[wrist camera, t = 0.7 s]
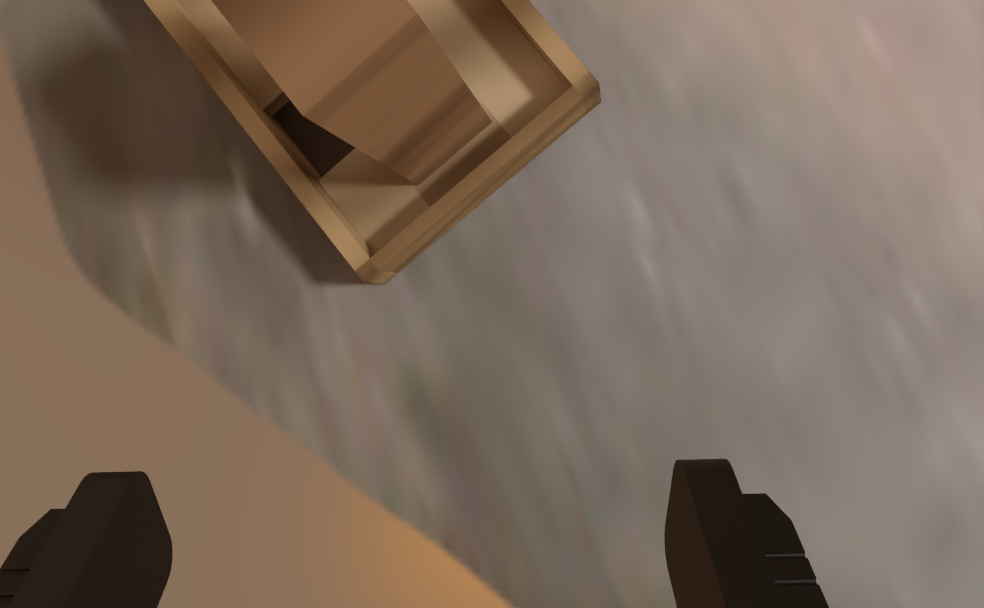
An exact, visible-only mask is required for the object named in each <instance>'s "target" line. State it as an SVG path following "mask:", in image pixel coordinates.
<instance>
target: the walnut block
mask: <svg viewBox="0 0 984 608" xmlns="http://www.w3.org/2000/svg"><path fill="white" fill-rule="evenodd" d="M211 1H212V2H213V3H214V5H215V6H216V7H217V8H218V10H219V11H220V12H221V13H222V15H223V16H224V17H225V18H226V20H227V21H228V22H229V23H230V25H231V26H232V27H233V28H234V30H235V31H236V32H237V34H238V35H239V36H240V37H241V39H242V40H243V41H244V42H245V44H246V45H247V46H248V47H249V49H250V50H251V51H252V52H253V54H254V55H255V56H256V58H257V59H258V60H259V61H260V63H261V64H262V65H263V66H264V68H265V69H266V70H267V71H268V73H269V74H270V75H271V76H272V78H273V79H274V80H275V82H276V83H277V84H278V85H279V87H280V88H281V89H282V90H283V92H284V93H285V94H286V95H287V97H288V98H289V99H290V100H291V102H292V103H293V104H294V106H295V107H296V108H297V109H298V111H299V112H300V113H301V114H302V116H304V117H306V118H307V119H309V120H311V121H312V122H314V123H316V124H317V125H319V126H320V127H322V128H324V129H325V130H327V131H329V132H330V133H332V134H334V135H335V136H337V137H339V138H340V139H342V140H344V141H345V142H347V143H349V144H350V145H352V146H354V147H355V148H357V149H359V150H360V151H362V152H364V153H365V154H367V155H369V156H370V157H372V158H374V159H375V160H377V161H379V162H380V163H382V164H384V165H385V166H387V167H389V168H390V169H392V170H394V171H395V172H397V173H398V174H400V175H402V176H403V177H405V178H407V179H408V180H410V181H412V182H413V183H415V184H417V185H418V186H419V185H420V184H421V183H422V182H423V181H424V180H426V179H427V178H428V177H429V176H430V175H431V174H433V173H434V172H435V171H436V170H437V169H438V168H440V167H441V166H442V165H443V164H444V163H445V162H447V161H448V160H449V159H450V158H451V157H452V156H454V155H455V154H456V153H457V152H458V151H459V150H461V149H462V148H463V147H464V146H465V145H466V144H468V143H469V142H470V141H471V140H472V139H473V138H475V137H476V136H477V135H478V134H479V133H480V132H482V131H483V130H484V129H485V128H486V127H487V126H489V125H490V124H491V123H492V121H491V119H490V118H489V116H488V115H487V114H486V112H485V111H484V109H483V108H482V106H481V105H480V103H479V102H478V100H477V99H476V98H475V96H474V95H473V93H472V92H471V90H470V89H469V87H468V86H467V84H466V83H465V82H464V80H463V79H462V77H461V76H460V74H459V73H458V71H457V70H456V68H455V67H454V66H453V64H452V63H451V61H450V60H449V58H448V57H447V55H446V54H445V52H444V51H443V50H442V48H441V47H440V45H439V44H438V42H437V41H436V39H435V38H434V36H433V35H432V34H431V32H430V31H429V29H428V28H427V26H426V25H425V23H424V22H423V20H422V19H421V18H420V16H419V15H418V13H417V12H416V11H415V10H414V8H413V7H412V6H411V5H410V4H409V2H408V1H407V0H211Z"/></svg>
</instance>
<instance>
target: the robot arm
mask: <svg viewBox="0 0 984 608" xmlns="http://www.w3.org/2000/svg"><path fill="white" fill-rule="evenodd" d="M665 553H666V561H667V567H668V572H669V576H670V580H671V584H672V588H673V592H674V597H675V601H676V605H677V608H829V607H828V604H827V602H826V600H825V598H824V595H823V593H822V591H821V588H820V586H819V585H817V583H816V577H815V574H814V572H813V570H812V567H811V565H810V563H809V560H808V558H805V551H804V549H803V546H802V544H801V542H800V539H799V537H798V535H797V532H796V530H795V528H794V525H793V523H792V521H791V520H790V518H789V517H788V516H787V515H786V514H785V513H784V512H783V511H782V510H781V509H780V508H779V507H778V506H777V505H776V504H775V503H774V502H773V501H772V500H771V499H770V498H769V496H768V495H767V494H742V492H741V490H740V487H739V484H738V482H737V479H736V476H735V474H734V471H733V468H732V466H731V464H730V462H729V461H728V460H727V459H698V460H677V461H676V462H675V465H674V469H673V476H672V483H671V489H670V496H669V503H668V510H667V517H666V524H665ZM171 565H172V542H171V537H170V534H169V532H168V529H167V526H166V523H165V521H164V518H163V515H162V512H161V510H160V507H159V505H158V502H157V499H156V496H155V493H154V491H153V488H152V486H151V483H150V480H149V478H148V476H147V475H146V474H145V473H144V472H141V471H138V472H101V473H99V472H98V473H90V474H88V475H87V476H85V478H84V479H83V480H82V481H81V483H80V484H79V486H78V488H77V490H76V491H75V493H74V495H73V496H72V498H71V500H70V502H69V503H68V505H67V507H66V509H51V510H49V511H48V512H47V513H46V514H45V515H44V516H43V517H42V518H41V519H39V520H38V521H37V522H36V523H35V524H34V525H33V526H32V527H31V528H30V529H28V530H27V531H26V532H25V533H24V534H23V535H22V536H21V537H20V538H19V539H18V541H17V542H16V544H15V546H14V547H13V549H12V550H11V552H10V554H9V555H8V557H7V558H6V560H5V562H4V563H3V565H2V567H1V568H0V608H157V606H158V604H159V601H160V599H161V596H162V593H163V591H164V588H165V586H166V584H167V581H168V578H169V575H170V570H171Z"/></svg>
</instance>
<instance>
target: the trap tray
mask: <svg viewBox="0 0 984 608" xmlns="http://www.w3.org/2000/svg"><path fill="white" fill-rule="evenodd" d="M144 1H145V3H146V4H147V5H148V7H149V8H150V9H151V10H152V12H153V13H154V14H155V15H156V17H157V18H158V19H159V21H160V22H161V23H162V24H163V26H164V27H165V28H166V30H167V31H168V32H169V33H170V35H171V36H172V37H173V39H174V40H175V41H176V42H177V44H178V45H179V46H180V48H181V49H182V50H183V51H184V53H185V54H186V55H187V57H188V58H189V59H190V60H191V62H192V63H193V64H194V66H195V67H196V68H197V69H198V71H199V72H200V73H201V74H202V76H203V77H204V78H205V80H206V81H207V82H208V83H209V85H210V86H211V87H212V89H213V90H214V91H215V92H216V94H217V95H218V96H219V98H220V99H221V100H222V101H223V103H224V104H225V105H226V107H227V108H228V109H229V110H230V112H231V113H232V114H233V116H234V117H235V118H236V119H237V121H238V122H239V123H240V125H241V126H242V127H243V128H244V130H245V131H246V132H247V133H248V135H249V136H250V137H251V139H252V140H253V141H254V142H255V144H256V145H257V146H258V148H259V149H260V150H261V151H262V153H263V154H264V155H265V157H266V158H267V159H268V160H269V162H270V163H271V164H272V166H273V167H274V168H275V169H276V171H277V172H278V173H279V175H280V176H281V177H282V178H283V180H284V181H285V182H286V183H287V185H288V186H289V187H290V189H291V190H292V191H293V192H294V194H295V195H296V196H297V198H298V199H299V200H300V201H301V203H302V204H303V205H304V207H305V208H306V209H307V210H308V212H309V213H310V214H311V216H312V217H313V218H314V219H315V221H316V222H317V223H318V225H319V226H320V227H321V228H322V230H323V231H324V232H325V234H326V235H327V236H328V237H329V239H330V240H331V241H332V242H333V244H334V245H335V246H336V248H337V249H338V250H339V251H340V253H341V254H342V255H343V257H344V258H345V259H346V260H347V262H348V263H349V264H350V266H351V267H352V268H353V269H354V271H355V272H356V273H357V275H358V276H359V277H360V278H361V280H362V281H363V282H364V283H372V284H383V285H384V284H385V283H386V282H388V281H389V280H390V279H391V278H392V277H394V276H395V275H396V274H397V273H398V272H399V271H401V270H402V269H403V268H404V267H405V266H407V265H408V264H409V263H410V262H411V261H413V260H414V259H415V258H416V257H417V256H418V255H420V254H421V253H422V252H423V251H424V250H426V249H427V248H428V247H429V246H430V245H432V244H433V243H434V242H435V241H436V240H437V239H439V238H440V237H441V236H442V235H443V234H445V233H446V232H447V231H448V230H449V229H450V228H452V227H453V226H454V225H455V224H456V223H458V222H459V221H460V220H461V219H462V218H464V217H465V216H466V215H467V214H468V213H469V212H471V211H472V210H473V209H474V208H475V207H477V206H478V205H479V204H480V203H481V202H483V201H484V200H485V199H486V198H487V197H488V196H490V195H491V194H492V193H493V192H494V191H496V190H497V189H498V188H499V187H500V186H502V185H503V184H504V183H505V182H506V181H507V180H509V179H510V178H511V177H512V176H513V175H515V174H516V173H517V172H518V171H519V170H520V169H522V168H523V167H524V166H525V165H526V164H528V163H529V162H530V161H531V160H532V159H534V158H535V157H536V156H537V155H538V154H539V153H541V152H542V151H543V150H544V149H545V148H547V147H548V146H549V145H550V144H551V143H553V142H554V141H555V140H556V139H557V138H558V137H560V136H561V135H562V134H563V133H564V132H566V131H567V130H568V129H569V128H570V127H571V126H573V125H574V124H575V123H576V122H577V121H579V120H580V119H581V118H582V117H583V116H585V115H586V114H587V113H588V112H589V111H590V110H592V109H593V108H594V107H595V106H596V105H598V104H599V103H600V102H601V98H600V87H599V82H598V81H597V80H596V79H595V78H594V77H593V75H592V74H591V73H590V72H589V71H588V70H587V68H586V67H585V66H584V65H583V64H582V62H581V61H580V60H579V59H578V58H577V57H576V55H575V54H574V53H573V52H572V51H571V50H570V48H569V47H568V46H567V45H566V44H565V42H564V41H563V40H562V39H561V38H560V37H559V35H558V34H557V33H556V32H555V31H554V30H553V28H552V27H551V26H550V25H549V24H548V22H547V21H546V20H545V19H544V18H543V17H542V15H541V14H540V13H539V12H538V11H537V9H536V8H535V7H534V6H533V5H532V4H531V2H530V1H529V0H407V1H408V2H409V4H410V5H411V6H412V7H413V8H414V10H415V11H416V12H417V13H418V15H419V16H420V18H421V19H422V20H423V22H424V23H425V25H426V26H427V28H428V29H429V31H430V32H431V34H432V35H433V36H434V38H435V39H436V41H437V42H438V44H439V45H440V47H441V48H442V50H443V51H444V52H445V54H446V55H447V57H448V58H449V60H450V61H451V63H452V64H453V66H454V67H455V68H456V70H457V71H458V73H459V74H460V76H461V77H462V79H463V80H464V82H465V83H466V84H467V86H468V87H469V89H470V90H471V92H472V93H473V95H474V96H475V98H476V99H477V100H478V102H479V103H480V105H481V106H482V108H483V109H484V111H485V112H486V114H487V115H488V116H489V118H490V119H491V121H492V123H491V124H490V125H489V126H487V127H486V128H485V129H484V130H483V131H482V132H480V133H479V134H478V135H477V136H476V137H475V138H473V139H472V140H471V141H470V142H469V143H468V144H466V145H465V146H464V147H463V148H462V149H461V150H459V151H458V152H457V153H456V154H455V155H454V156H452V157H451V158H450V159H449V160H448V161H447V162H445V163H444V164H443V165H442V166H441V167H440V168H438V169H437V170H436V171H435V172H434V173H433V174H431V175H430V176H429V177H428V178H427V179H426V180H424V181H423V182H422V183H421V184H420V185H419V186H418V185H417V184H415V183H413V182H412V181H410V180H408V179H407V178H405V177H403V176H402V175H400V174H398V173H397V172H395V171H394V170H392V169H390V168H389V167H387V166H385V165H384V164H382V163H380V162H379V161H377V160H375V159H374V158H372V157H370V156H369V155H367V154H365V153H364V152H362V151H360V150H359V149H357V148H355V147H354V146H352V145H350V144H349V143H347V142H345V141H344V140H342V139H340V138H339V137H337V136H335V135H334V134H332V133H330V132H329V131H327V130H325V129H324V128H322V127H320V126H319V125H317V124H316V123H314V122H312V121H311V120H309V119H307V118H306V117H304V116H302V114H301V113H300V112H299V111H298V109H297V108H296V107H295V106H294V104H293V103H292V102H291V100H290V99H289V98H288V97H287V95H286V94H285V93H284V92H283V90H282V89H281V88H280V87H279V85H278V84H277V83H276V82H275V80H274V79H273V78H272V76H271V75H270V74H269V73H268V71H267V70H266V69H265V68H264V66H263V65H262V64H261V63H260V61H259V60H258V59H257V58H256V56H255V55H254V54H253V52H252V51H251V50H250V49H249V47H248V46H247V45H246V44H245V42H244V41H243V40H242V39H241V37H240V36H239V35H238V34H237V32H236V31H235V30H234V28H233V27H232V26H231V25H230V23H229V22H228V21H227V20H226V18H225V17H224V16H223V15H222V13H221V12H220V11H219V10H218V8H217V7H216V6H215V5H214V3H213V2H212V1H211V0H144Z"/></svg>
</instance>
